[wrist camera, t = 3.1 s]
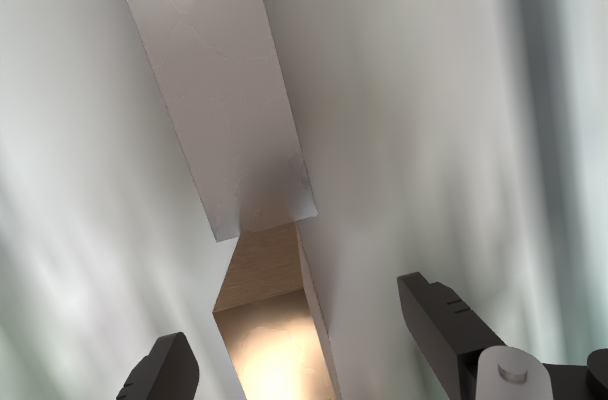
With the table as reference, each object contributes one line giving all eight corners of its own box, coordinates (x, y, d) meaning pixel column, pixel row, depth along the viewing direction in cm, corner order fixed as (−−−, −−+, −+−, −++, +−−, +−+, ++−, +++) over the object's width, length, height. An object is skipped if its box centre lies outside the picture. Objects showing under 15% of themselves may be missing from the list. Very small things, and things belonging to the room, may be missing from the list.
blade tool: (370, 325, 15) (426, 453, 9) (240, 360, 15) (215, 510, 9) (246, -229, 9) (185, -842, 3) (29, -173, 9) (-416, -689, 3)
